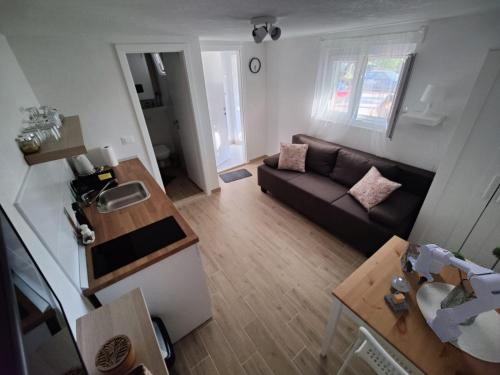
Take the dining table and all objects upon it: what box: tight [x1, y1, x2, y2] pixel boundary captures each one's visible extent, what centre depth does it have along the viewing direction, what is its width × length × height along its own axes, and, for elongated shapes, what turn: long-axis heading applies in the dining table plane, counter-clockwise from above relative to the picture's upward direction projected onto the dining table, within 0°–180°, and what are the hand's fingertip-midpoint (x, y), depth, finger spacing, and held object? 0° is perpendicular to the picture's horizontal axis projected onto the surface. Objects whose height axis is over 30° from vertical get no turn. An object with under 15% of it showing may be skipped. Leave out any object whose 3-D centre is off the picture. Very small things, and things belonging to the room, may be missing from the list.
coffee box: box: [400, 242, 422, 274], centre depth 131 cm, size 9×6×16 cm
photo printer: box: [428, 259, 446, 275], centre depth 129 cm, size 10×4×12 cm, turn 61°
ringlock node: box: [383, 275, 412, 313], centre depth 119 cm, size 17×17×7 cm
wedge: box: [391, 293, 406, 305], centre depth 114 cm, size 2×4×7 cm, turn 99°
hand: (413, 277), depth 118 cm, fingers open, 7 cm apart
